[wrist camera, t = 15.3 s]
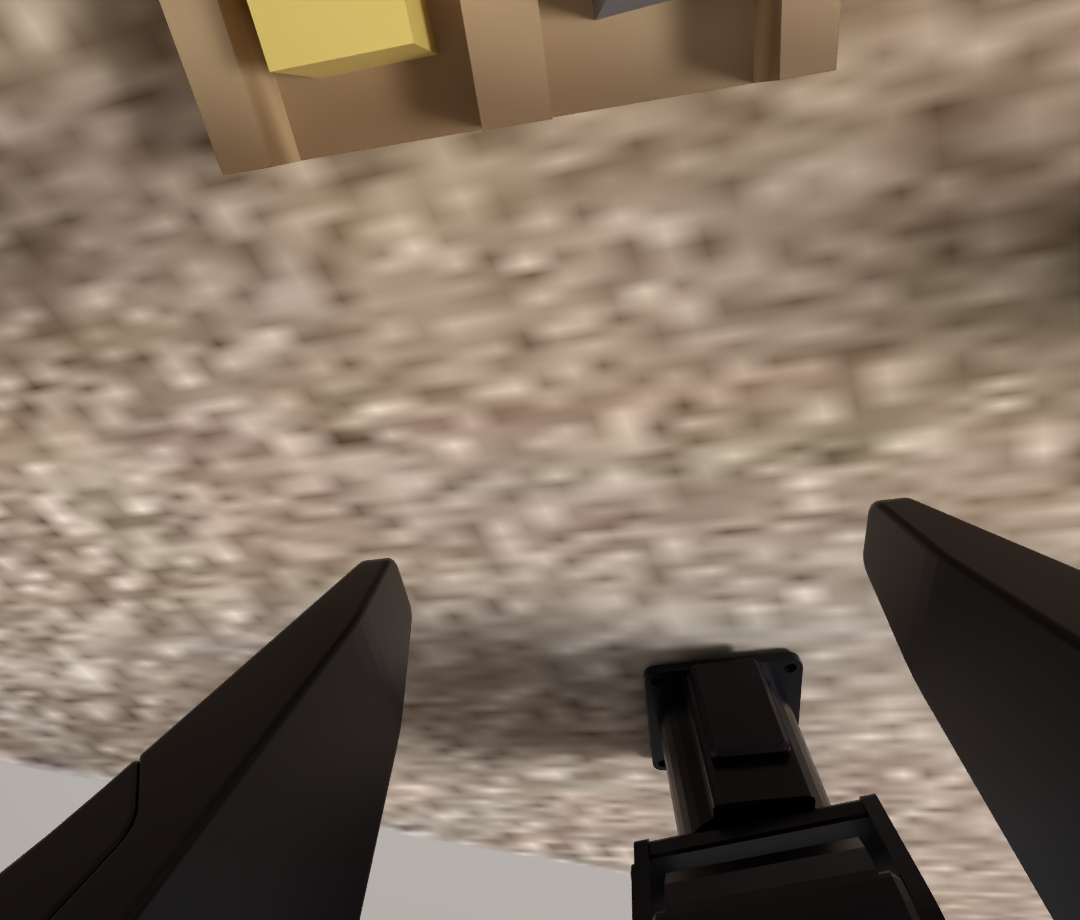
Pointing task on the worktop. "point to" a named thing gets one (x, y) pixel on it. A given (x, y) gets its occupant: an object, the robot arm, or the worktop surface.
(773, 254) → the worktop surface
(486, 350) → the worktop surface
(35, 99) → the worktop surface
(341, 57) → the yellow rectangular block
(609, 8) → the tall grey block
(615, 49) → the slot board
